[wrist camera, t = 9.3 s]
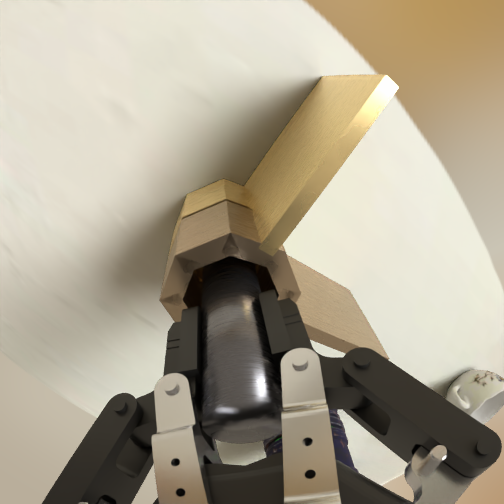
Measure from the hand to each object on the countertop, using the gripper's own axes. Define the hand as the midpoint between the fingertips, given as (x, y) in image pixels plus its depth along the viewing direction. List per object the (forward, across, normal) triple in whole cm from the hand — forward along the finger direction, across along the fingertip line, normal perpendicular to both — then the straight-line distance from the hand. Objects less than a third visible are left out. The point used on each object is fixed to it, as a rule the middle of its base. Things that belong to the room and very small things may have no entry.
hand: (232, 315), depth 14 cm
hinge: (+9, -6, -1) cm, 11 cm away
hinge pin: (+4, 0, 0) cm, 4 cm away
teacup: (+9, -29, +34) cm, 45 cm away
